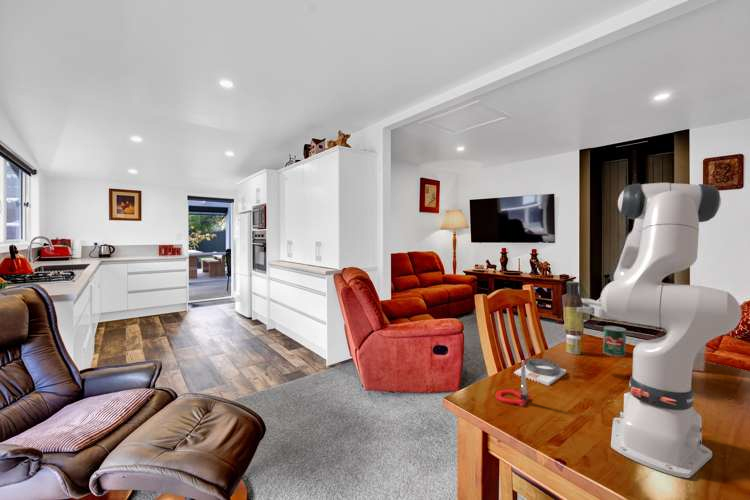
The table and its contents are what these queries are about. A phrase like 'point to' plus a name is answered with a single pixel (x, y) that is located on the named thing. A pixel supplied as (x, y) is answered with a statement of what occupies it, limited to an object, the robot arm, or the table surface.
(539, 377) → the socket board
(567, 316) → the sauce bottle
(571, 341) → the supplement bottle
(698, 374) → the table surface
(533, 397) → the table surface
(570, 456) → the table surface
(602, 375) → the table surface
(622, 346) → the canned tomato
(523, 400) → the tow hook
